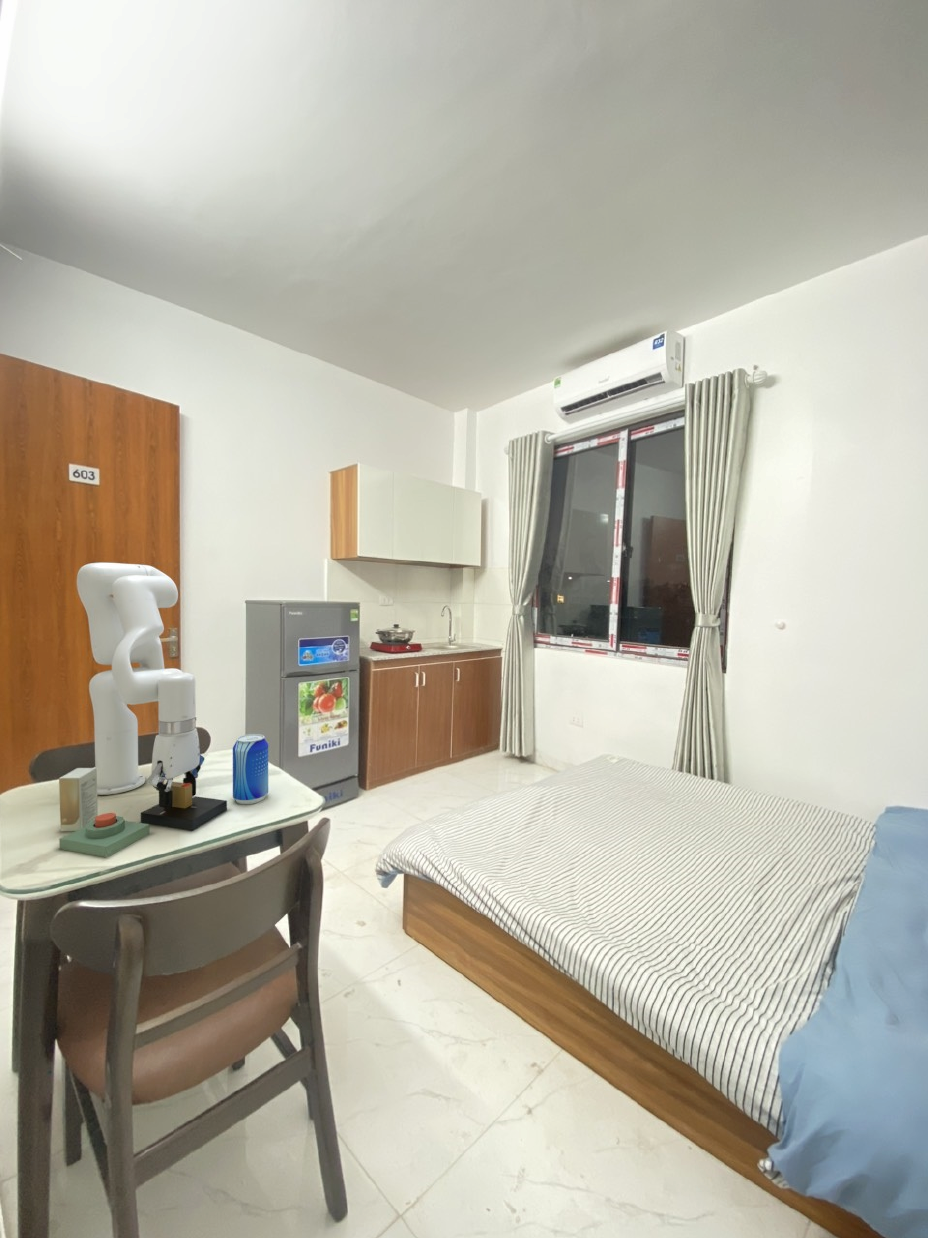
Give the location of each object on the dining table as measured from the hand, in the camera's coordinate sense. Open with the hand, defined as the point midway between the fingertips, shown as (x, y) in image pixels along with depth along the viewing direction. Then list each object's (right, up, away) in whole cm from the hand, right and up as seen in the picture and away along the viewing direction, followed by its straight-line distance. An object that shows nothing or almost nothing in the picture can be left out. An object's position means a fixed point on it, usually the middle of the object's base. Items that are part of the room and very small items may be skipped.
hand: (178, 800), depth 117 cm
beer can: (+13, -4, +11) cm, 17 cm away
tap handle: (0, -1, 0) cm, 1 cm away
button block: (-8, -4, -12) cm, 15 cm away
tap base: (+2, -4, 0) cm, 4 cm away
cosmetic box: (-19, -4, -6) cm, 20 cm away
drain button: (-8, -1, -12) cm, 15 cm away
